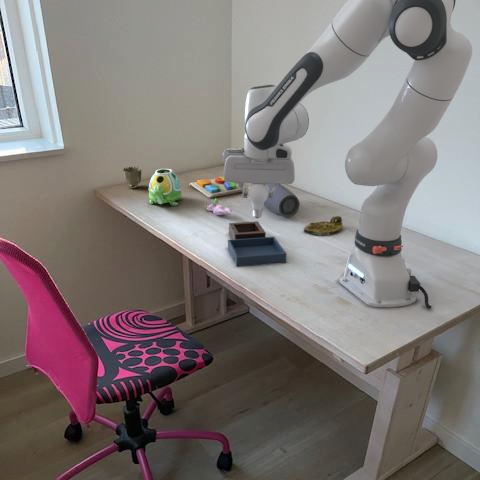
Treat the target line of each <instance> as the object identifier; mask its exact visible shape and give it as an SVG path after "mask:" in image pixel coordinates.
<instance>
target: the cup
mask: <svg viewBox="0 0 480 480" xmlns="http://www.w3.org/2000/svg"><path fill="white" fill-rule="evenodd" d="M122 171H123V177H124V181H125V183H126V184H128V187H129V189H131V190H135V189H138V188H139V184H140V183H141V181H142V168H141V167H139V166H137V167H136V166H127V167H123V169H122Z"/></svg>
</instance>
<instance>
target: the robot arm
mask: <svg viewBox="0 0 480 480" xmlns="http://www.w3.org/2000/svg"><path fill="white" fill-rule="evenodd" d="M456 1H457V0H347V1H346V2H345V3H344V5H343V6H342V7H341V8H340V10H339V11H337V13H336V15H335V16H334V17H333V19H332V20H331V21H330V23H329V25H327V27H326V28H325V30H324V31H323V33H321V35H320V36H319V37H318V39H317V40H316V41H315V42H314V44H313V45H312V46H311V47H310V48H309V49H308V50H307V52H306V53H305V54H304V55H303V56H302V57H301V58H300V59H299V60H298V61H297V62H296V63H295V64H294V66H293V67H291V69H290V70H289V71H288V73H287V74H286V75H285V76H284V77H283V78H282V80H281V81H280V82H279V83H278V84H277V86H276V85H274V84H265V85H258V86H253V87H251V88H250V89H248V91H247V94H246V98H245V105H244V130H245V132H244V135H243V137H244V138H243V148H242V147H238V148H237V147H235V148H233V147H228V148H227V149H225V150H224V151H223V152H222V162H223V164H224V167H223V177H224V180H225V181H226V182H231V183H236V184H238V185H239V188H240V189H241V191H242V192H241V195H242V196H241V197H242V198H243V199H247V198H248V194H247V190H248V189H246V190H244V188H245V187H244V184H251V183H271V184H273V187H274V188H273V190H272V191H269V198H273V199H274V193H275V191H276V190H277V189H278V184H281V185H293V183H294V182H295V178H296V174H295V162H294V159H293V158H292V155H293V150H292V148H291V146H290V145H288V143H291V142H294V141H298V140H299V139H302V138H304V136H305V135H306V134H307V132H308V129H309V125H310V118H309V113H308V111H307V109H306V108H305V106H304V105H303V104H301V102H302V101H303V100H304V99H305V98H306V97H307V96H308V95H310V93H312V92H313V91H315V90H318V89H319V88H321V87H324V86H327V85H329V84H332V83H335V82H338V81H341V80H344V79H346V78H348V77H350V75H351V76H352V74H353V73H354V72H356V71H357V70H358V69H359V68H360V67H362V65H363V64H364V63H365V62H366V61H367V59H369V57H370V56H371V55H372V53H373V52H374V51H375V50H376V48H377V47H378V46H379V45H380V43H382V41H384V39H386V38H388V37H390V39H391V41H392V43H393V44H394V45H395V46H396V47H397V48H398V49H399V50H400V51H402V52H404V53H405V54H407V55H408V56H409V57H410V58H411V59H412V60H414V62H413V64H412V65H411V68H410V70H409V71H408V73H407V76H406V78H405V80H404V82H403V85H402V86H401V88H400V90H399V93H398V94H397V96H396V98H395V100H394V102H393V104H392V106H391V107H390V109H389V110H388V112H387V113H386V114H385V116H384V117H383V118H382V119H381V120H380V122H379V123H378V124H377V125H376V126H375V127H374V129H373V130H372V131H371V132H370V133H369V134H368V135H367V136H366V137H365V138H363V139H362V140H360V141H359V142H357V143H355V145H353V146H352V147H350V149H349V150H348V151H347V153H346V156H345V160H344V169H345V170H344V171H345V173H346V176H347V178H348V179H349V181H350V182H351V183H352V184H354V185H356V186H363V187H375V189H374V190H373V191H372V193H371V194H370V195H368V196H367V197H366V198H365V199H364V201H363V202H362V205H361V209H360V216H359V221H358V228H357V230H356V232H355V235H354V247H353V249H352V250H351V251H350V253H349V254H348V256H347V261H346V265H345V269H344V273H343V275H341V276H340V278H339V281H338V283H339V284H341V286H343V287H344V288H345V289H347V290H348V291H349V292H351V294H353V295H354V296H356V297H357V298H358V299H360V300H361V301H362V302H363V303H364V304H366V305H367V306H368V307H373V308H398V307H405V306H409V305H412V304H414V303H416V302H417V296H416V294H415V293H416V292H417V293H419V291H420V292H421V293H422V294H423V298H424V305H425V307H426V308H427V309H428V310H431V309H432V305H430V304H429V295H428V293H427V291H426V290H425V288H424V287H423V286H422V285H421V282H420V281H419V280H418V279H417V277H416V276H415V275H412V269H411V268H408V267H407V266H406V263H405V258H403V256H402V253H401V252H402V250H403V247H404V245H402V244H403V240H402V235H401V232H402V228H403V224H404V219H405V216H406V210H407V209H408V206H409V204H410V201H411V199H412V197H413V194H414V193H415V192H416V190H417V188H418V186H419V185H420V183H421V182H422V181H423V180H424V178H425V177H426V176H427V175H428V174H430V173H431V172H432V171H433V170H434V169H435V167H436V164H437V161H438V148H437V146H436V143H435V142H434V140H433V139H431V138H429V137H428V135H430V134H431V133H432V132H434V131H435V129H436V128H437V127H438V125H439V123H440V122H441V120H442V118H443V117H444V116H445V113H446V112H447V110H448V107H449V106H450V104H451V103H452V101H453V99H454V98H455V96H456V93H457V92H458V90H459V88H460V87H461V84H462V82H463V79H464V77H465V75H466V74H467V70H468V68H469V66H470V62H471V60H472V56H473V47H472V43H471V41H470V40H469V39H468V37H466V36H465V35H464V34H462V33H461V32H459V31H456V30H455V29H454V28H453V26H452V24H451V19H452V14H453V12H454V9H455V7H456Z"/></svg>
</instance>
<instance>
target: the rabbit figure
mask: <svg viewBox="0 0 480 480" xmlns="http://www.w3.org/2000/svg"><path fill="white" fill-rule="evenodd" d="M218 203H219V199H218V198H217V197H214V201H213V202H212V203H211V204H209V205H208V204H205V209H206V210H207V211H208V212H212V213H213V214H214V215H217V216H222V215H223V216H224V215H225V214H226V215H228V213H229V214H230V215H231V214H232V209H231V208H229V207H226V206H225V205H223V204H218Z"/></svg>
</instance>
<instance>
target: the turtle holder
mask: <svg viewBox="0 0 480 480" xmlns="http://www.w3.org/2000/svg"><path fill="white" fill-rule="evenodd" d="M148 197H149V199H150V200H149V201H148V203H149V204H150V205H154V203H158V204H159V205H164V204H166V203H169V204H170V206H172V207H176V206H178V205H179V202H177V201H180V200H181V198H182V185H181V182H180V179H179V178H178V176H177V174H176V173H175V172H174V171H173V169H171V168H159V169H156V170H155V172H154V173H153V175H152V176H151V178H150V180H149V185H148Z"/></svg>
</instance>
